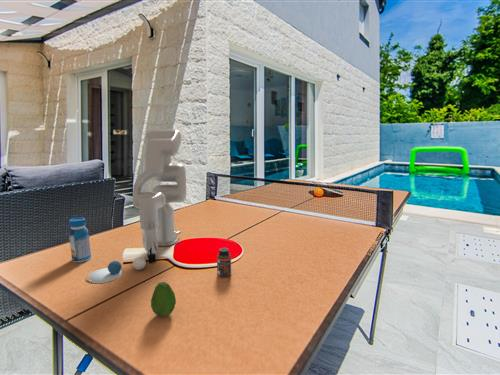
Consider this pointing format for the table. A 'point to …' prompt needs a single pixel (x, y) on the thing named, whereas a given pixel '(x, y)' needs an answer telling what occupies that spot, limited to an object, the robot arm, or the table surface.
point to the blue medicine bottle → (79, 240)
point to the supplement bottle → (224, 263)
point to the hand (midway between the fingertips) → (152, 262)
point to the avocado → (163, 300)
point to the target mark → (102, 276)
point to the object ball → (114, 267)
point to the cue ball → (139, 263)
